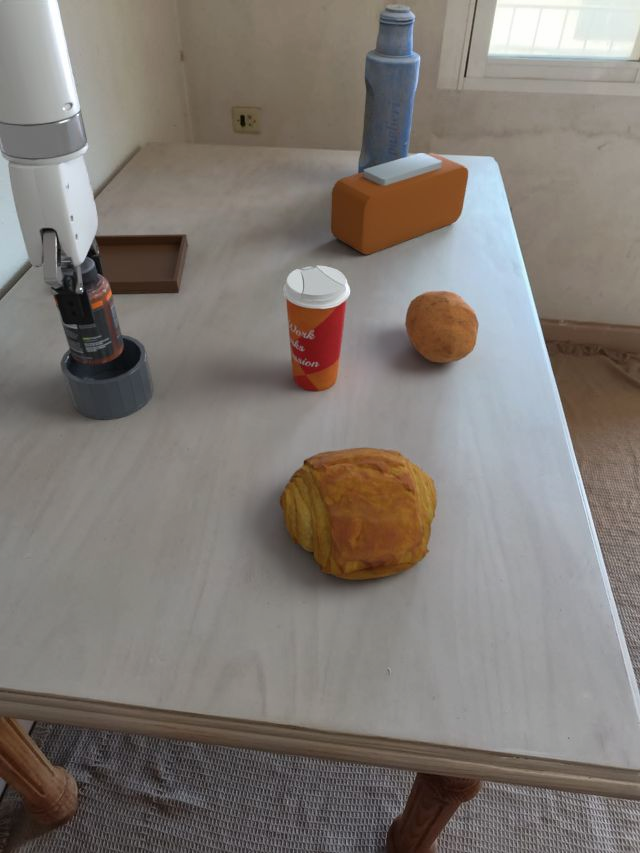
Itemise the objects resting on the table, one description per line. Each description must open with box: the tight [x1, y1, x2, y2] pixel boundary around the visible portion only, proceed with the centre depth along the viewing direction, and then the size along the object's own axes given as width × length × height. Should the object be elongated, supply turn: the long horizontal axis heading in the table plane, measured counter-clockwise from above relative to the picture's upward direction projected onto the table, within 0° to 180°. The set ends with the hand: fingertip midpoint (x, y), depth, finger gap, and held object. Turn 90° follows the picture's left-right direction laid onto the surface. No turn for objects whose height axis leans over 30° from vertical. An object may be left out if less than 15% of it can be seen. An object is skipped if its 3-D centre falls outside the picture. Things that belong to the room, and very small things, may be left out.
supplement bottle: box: [52, 257, 124, 365], centre depth 69 cm, size 6×6×11 cm
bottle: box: [357, 4, 421, 174], centre depth 116 cm, size 10×10×30 cm
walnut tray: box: [94, 233, 189, 295], centre depth 99 cm, size 17×15×2 cm
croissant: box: [279, 446, 438, 581], centre depth 61 cm, size 14×16×8 cm
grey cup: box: [60, 334, 154, 421], centre depth 75 cm, size 10×10×6 cm
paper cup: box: [282, 264, 351, 392], centre depth 75 cm, size 8×8×14 cm
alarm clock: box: [330, 152, 469, 256], centre depth 107 cm, size 24×8×11 cm, turn 128°
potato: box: [404, 290, 479, 364], centre depth 82 cm, size 9×11×8 cm
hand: (85, 304), depth 69 cm, fingers closed on supplement bottle, 6 cm apart
